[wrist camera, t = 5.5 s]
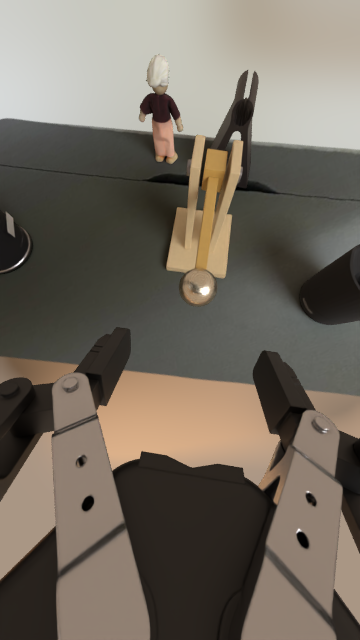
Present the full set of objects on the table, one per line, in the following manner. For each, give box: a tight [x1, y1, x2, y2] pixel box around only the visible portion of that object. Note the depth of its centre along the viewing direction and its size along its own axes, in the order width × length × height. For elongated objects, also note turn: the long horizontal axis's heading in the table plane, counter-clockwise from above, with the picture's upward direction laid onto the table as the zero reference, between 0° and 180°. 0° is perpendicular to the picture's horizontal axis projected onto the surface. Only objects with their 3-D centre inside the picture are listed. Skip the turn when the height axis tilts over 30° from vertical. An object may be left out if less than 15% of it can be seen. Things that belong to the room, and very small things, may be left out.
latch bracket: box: [166, 135, 243, 278], centre depth 26 cm, size 12×10×15 cm
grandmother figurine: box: [139, 54, 183, 164], centre depth 31 cm, size 8×4×13 cm, turn 87°
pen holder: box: [300, 245, 360, 325], centre depth 26 cm, size 9×9×10 cm
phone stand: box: [201, 70, 258, 188], centre depth 31 cm, size 9×6×12 cm, turn 78°
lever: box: [179, 149, 228, 307], centre depth 19 cm, size 17×4×4 cm, turn 171°
